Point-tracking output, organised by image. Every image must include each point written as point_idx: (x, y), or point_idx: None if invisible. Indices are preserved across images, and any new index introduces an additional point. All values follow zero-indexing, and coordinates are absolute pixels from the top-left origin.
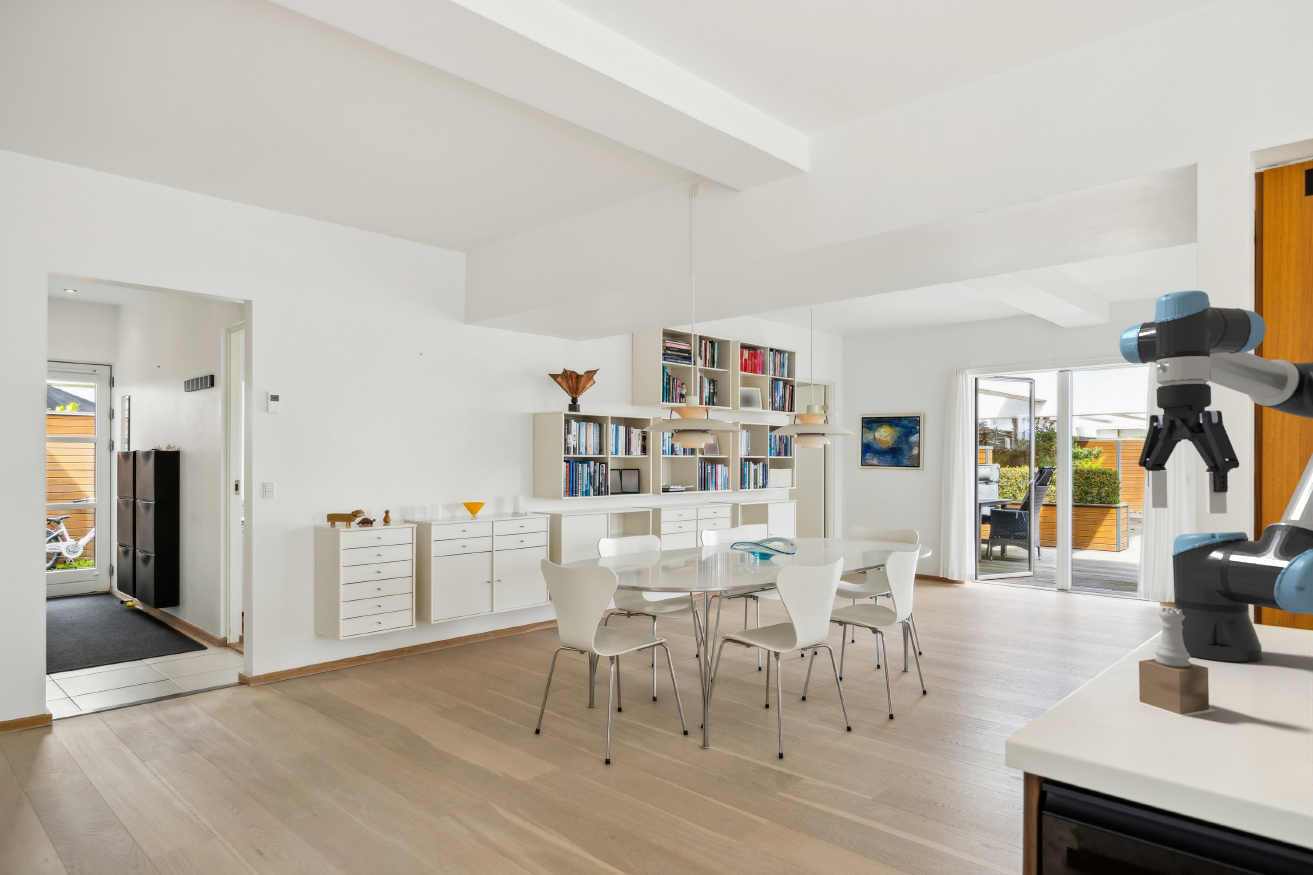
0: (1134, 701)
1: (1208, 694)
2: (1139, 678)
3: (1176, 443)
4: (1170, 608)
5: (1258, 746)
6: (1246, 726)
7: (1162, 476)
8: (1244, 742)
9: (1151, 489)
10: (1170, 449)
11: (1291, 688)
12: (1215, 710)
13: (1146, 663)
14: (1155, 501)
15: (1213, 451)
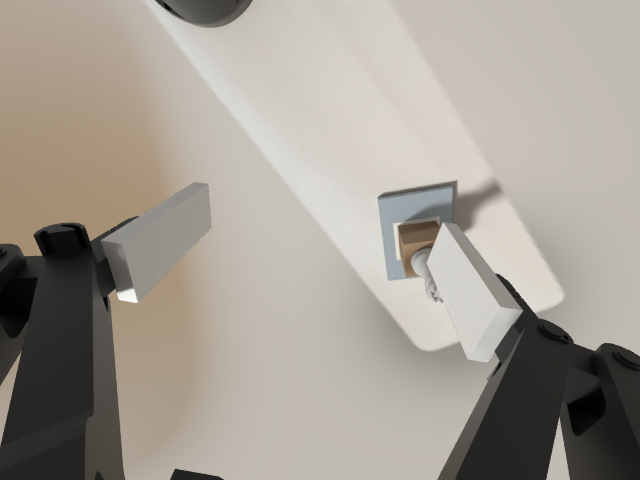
0: (398, 259)
1: (439, 226)
2: (403, 267)
3: (96, 408)
4: (435, 290)
5: (492, 234)
6: (459, 203)
7: (146, 249)
8: (482, 236)
9: (179, 256)
10: (98, 366)
11: (386, 20)
12: (439, 217)
13: (413, 276)
14: (201, 227)
15: (574, 471)
